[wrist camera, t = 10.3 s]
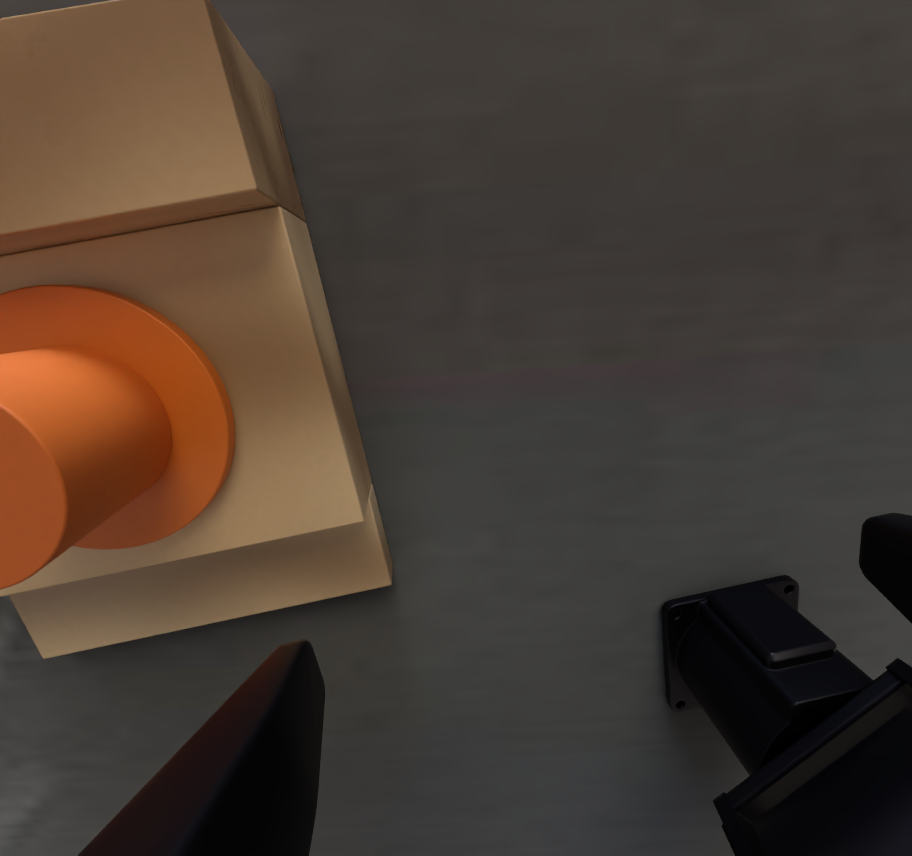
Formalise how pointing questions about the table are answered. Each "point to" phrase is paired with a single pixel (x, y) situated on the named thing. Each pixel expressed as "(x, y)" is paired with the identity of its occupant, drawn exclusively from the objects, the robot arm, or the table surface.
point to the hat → (101, 426)
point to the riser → (186, 308)
